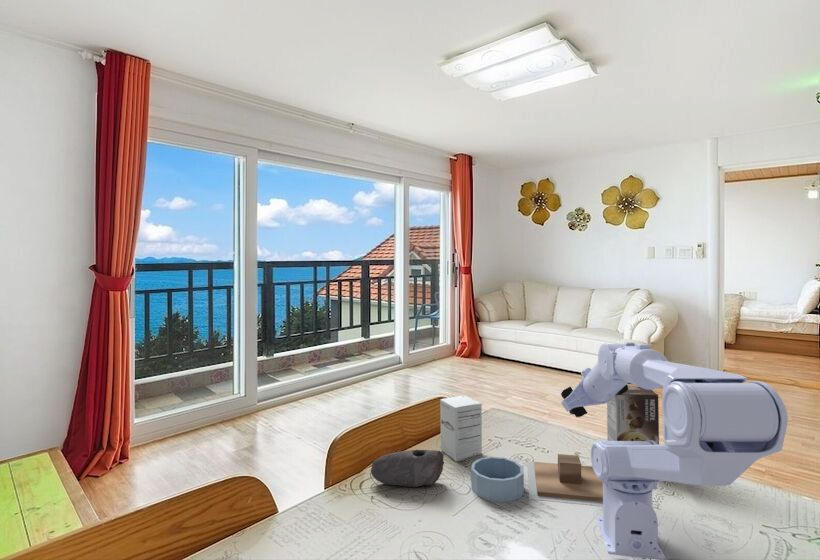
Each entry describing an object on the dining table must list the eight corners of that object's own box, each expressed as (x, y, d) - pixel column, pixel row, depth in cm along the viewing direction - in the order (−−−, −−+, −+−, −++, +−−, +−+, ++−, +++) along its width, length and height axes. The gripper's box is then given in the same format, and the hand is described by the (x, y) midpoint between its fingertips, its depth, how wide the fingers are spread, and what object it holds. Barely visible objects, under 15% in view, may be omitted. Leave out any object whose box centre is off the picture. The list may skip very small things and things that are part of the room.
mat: (622, 510, 79) (621, 508, 79) (529, 501, 83) (529, 498, 83) (604, 470, 95) (604, 468, 95) (526, 464, 98) (526, 461, 98)
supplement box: (439, 450, 107) (439, 398, 106) (466, 444, 110) (465, 394, 109) (455, 462, 100) (454, 407, 100) (483, 456, 103) (482, 402, 103)
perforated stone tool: (368, 489, 88) (368, 455, 88) (373, 477, 94) (372, 444, 93) (443, 492, 87) (443, 457, 87) (444, 479, 92) (444, 446, 92)
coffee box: (647, 455, 102) (647, 386, 101) (660, 468, 95) (660, 394, 95) (606, 454, 103) (605, 385, 102) (616, 467, 96) (616, 393, 96)
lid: (611, 502, 81) (611, 477, 81) (537, 495, 84) (537, 470, 84) (597, 470, 94) (597, 448, 94) (534, 465, 97) (534, 443, 97)
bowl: (524, 506, 81) (524, 482, 81) (469, 501, 83) (469, 477, 83) (523, 480, 91) (522, 459, 91) (474, 476, 93) (473, 455, 93)
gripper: (623, 344, 83) (601, 369, 95) (558, 378, 81) (544, 399, 92) (649, 376, 80) (623, 398, 91) (583, 413, 77) (564, 430, 89)
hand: (585, 401), depth 92 cm, fingers open, 7 cm apart
